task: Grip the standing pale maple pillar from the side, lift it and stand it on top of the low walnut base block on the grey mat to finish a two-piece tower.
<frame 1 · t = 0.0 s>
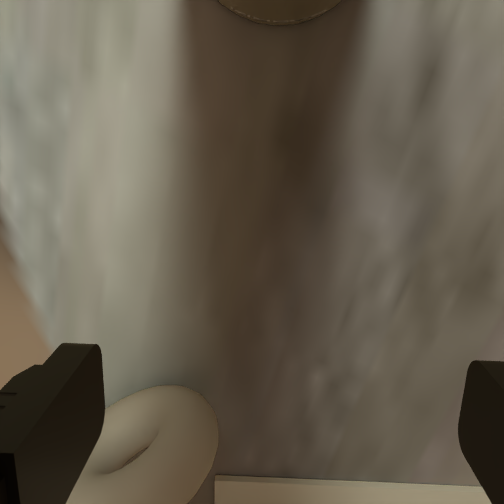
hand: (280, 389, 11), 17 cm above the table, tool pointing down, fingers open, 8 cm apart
donut: (155, 398, 32), on the table
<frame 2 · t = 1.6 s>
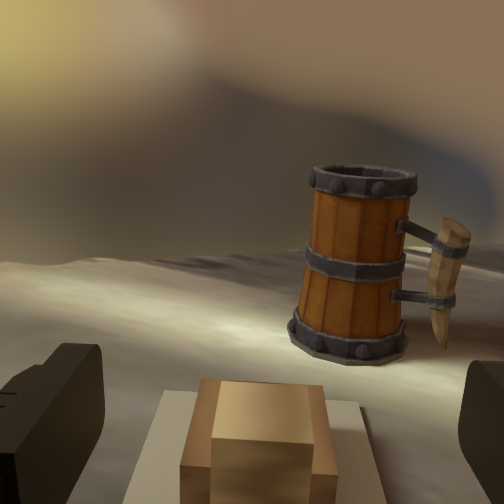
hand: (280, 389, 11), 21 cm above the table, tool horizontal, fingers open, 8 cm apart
mug: (363, 343, 57), on the table
build mat: (256, 502, 34), on the table
walnut base: (257, 465, 36), resting on build mat
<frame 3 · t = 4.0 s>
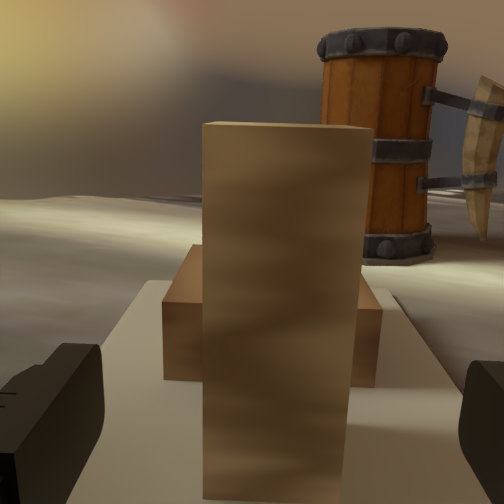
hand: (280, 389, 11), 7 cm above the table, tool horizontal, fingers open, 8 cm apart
maple pillar: (269, 455, 18), resting on build mat
mug: (384, 251, 49), on the table
build mat: (267, 371, 25), on the table
walnut base: (267, 337, 28), resting on build mat
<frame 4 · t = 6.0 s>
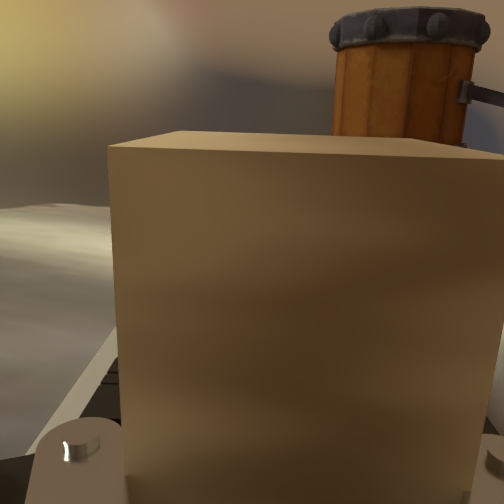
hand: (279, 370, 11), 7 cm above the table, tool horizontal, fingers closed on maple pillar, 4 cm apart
mug: (407, 276, 41), on the table
build mat: (268, 484, 17), on the table
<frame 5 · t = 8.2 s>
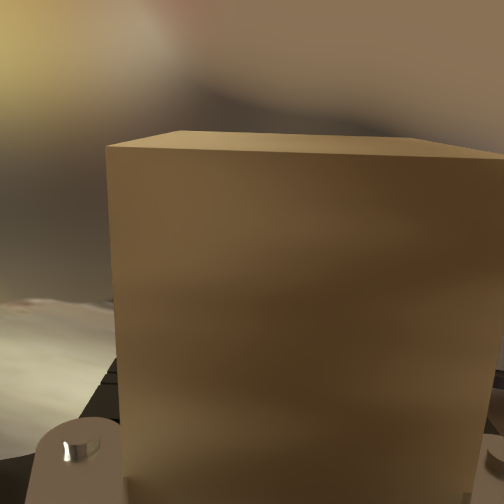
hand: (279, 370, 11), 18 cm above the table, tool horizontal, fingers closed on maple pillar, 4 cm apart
when the fingers open (12 cm above the table, at t = 10.2 s): maple pillar stays where it is, resting on walnut base.
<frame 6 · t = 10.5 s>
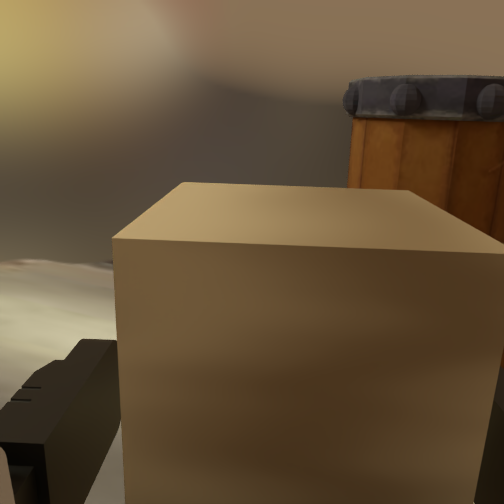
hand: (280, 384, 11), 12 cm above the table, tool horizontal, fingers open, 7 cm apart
mug: (438, 393, 33), on the table
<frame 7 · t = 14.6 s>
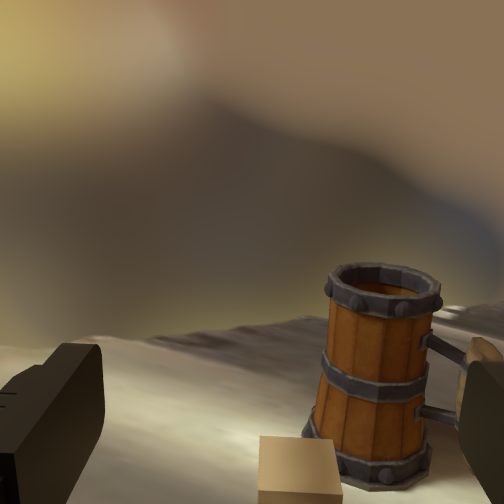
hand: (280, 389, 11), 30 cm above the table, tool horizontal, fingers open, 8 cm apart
mug: (385, 455, 53), on the table
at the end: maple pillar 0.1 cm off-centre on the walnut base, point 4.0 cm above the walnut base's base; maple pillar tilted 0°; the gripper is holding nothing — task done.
